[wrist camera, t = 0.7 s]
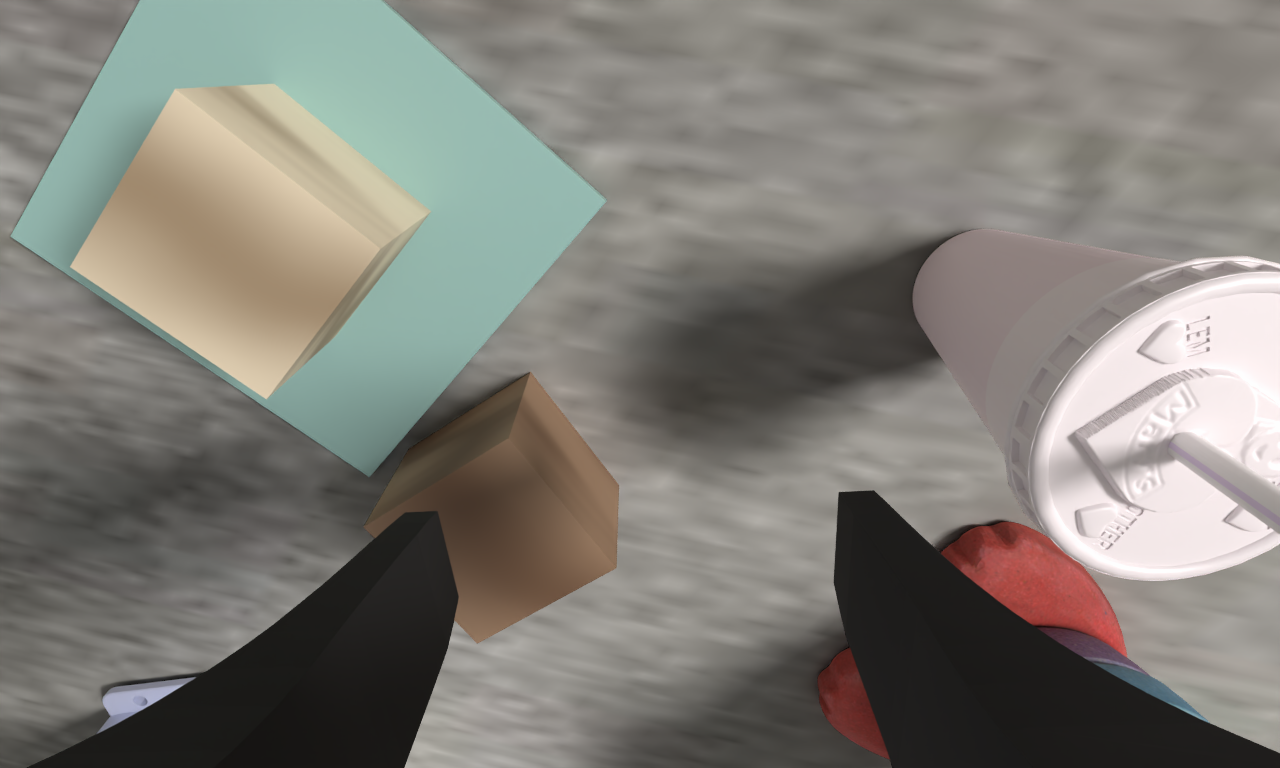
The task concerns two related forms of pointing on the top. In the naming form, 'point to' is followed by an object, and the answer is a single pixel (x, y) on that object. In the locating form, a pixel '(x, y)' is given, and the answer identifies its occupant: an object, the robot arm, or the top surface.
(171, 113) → the maple block
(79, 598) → the top surface
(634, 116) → the top surface
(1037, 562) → the stacking bear
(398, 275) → the mat
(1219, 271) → the smoothie
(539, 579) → the walnut block
